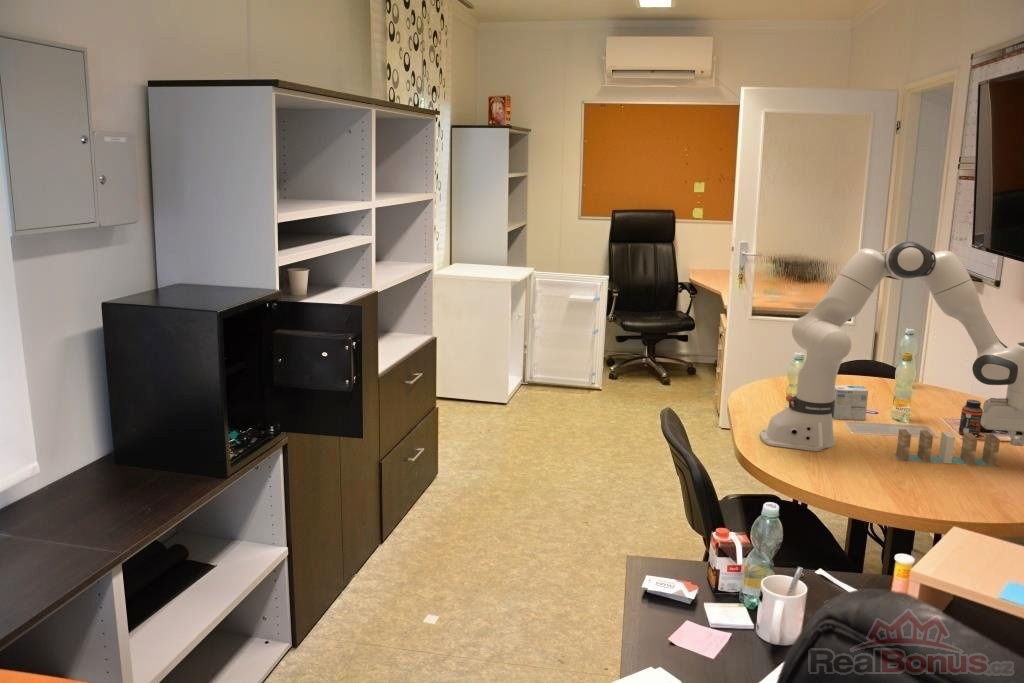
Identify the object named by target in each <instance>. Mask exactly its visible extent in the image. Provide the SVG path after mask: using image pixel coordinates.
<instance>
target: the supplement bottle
mask: <svg viewBox="0 0 1024 683" xmlns="http://www.w3.org/2000/svg"><path fill="white" fill-rule="evenodd" d="M981 404H982V403H981V401H980V400H977V399H972V398H971V399H970V398H969V399H967V400H966V403H965V405H963V406H962V408H961V414H960V421H959V428H958V433H959V434H961V435H962V434H964V433H972V434H973V435H974V436H975V435H979V436H980V434H981V429H982V428H981V426H982V425H981V423H980V422H981V417H982V413H983V408H982V407H981Z"/></svg>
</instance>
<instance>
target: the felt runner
mask: <svg viewBox="0 0 1024 683" xmlns="http://www.w3.org/2000/svg"><path fill="white" fill-rule="evenodd" d="M893 454H894V456H895V457H896V459H897V460H899V461H900V462H906V461H905V460H900V458H899V457H898V456H897V455H896V452H895V453H894V452H893ZM938 456H939V455H931V458H930V462H929V463H930V464H931V463H933V464H948V465H961V466H962V465H963V466H964V465H965V466H972V465H971V464H966V463H965V462H964V461H963V460H962V459H961V458H960V457H961V456H952V463H944V462H943V461H942V460H941V459H940V458H939V457H938ZM907 462H917V463H924V462H923V461H922V460H921V459H920V458H919V457H918V456H917V454H912V453H911V454H910V453H909V458H908V461H907ZM973 466H978V467H979V466H981V467H984V466H985V467H990V466H989V465H988V464H987V463H985V462H984V461H983V460H982V458H980V457H979V458H977V457H975V461H974V465H973ZM995 467H998V468H999V466H998V465H996V466H994V468H995Z"/></svg>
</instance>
